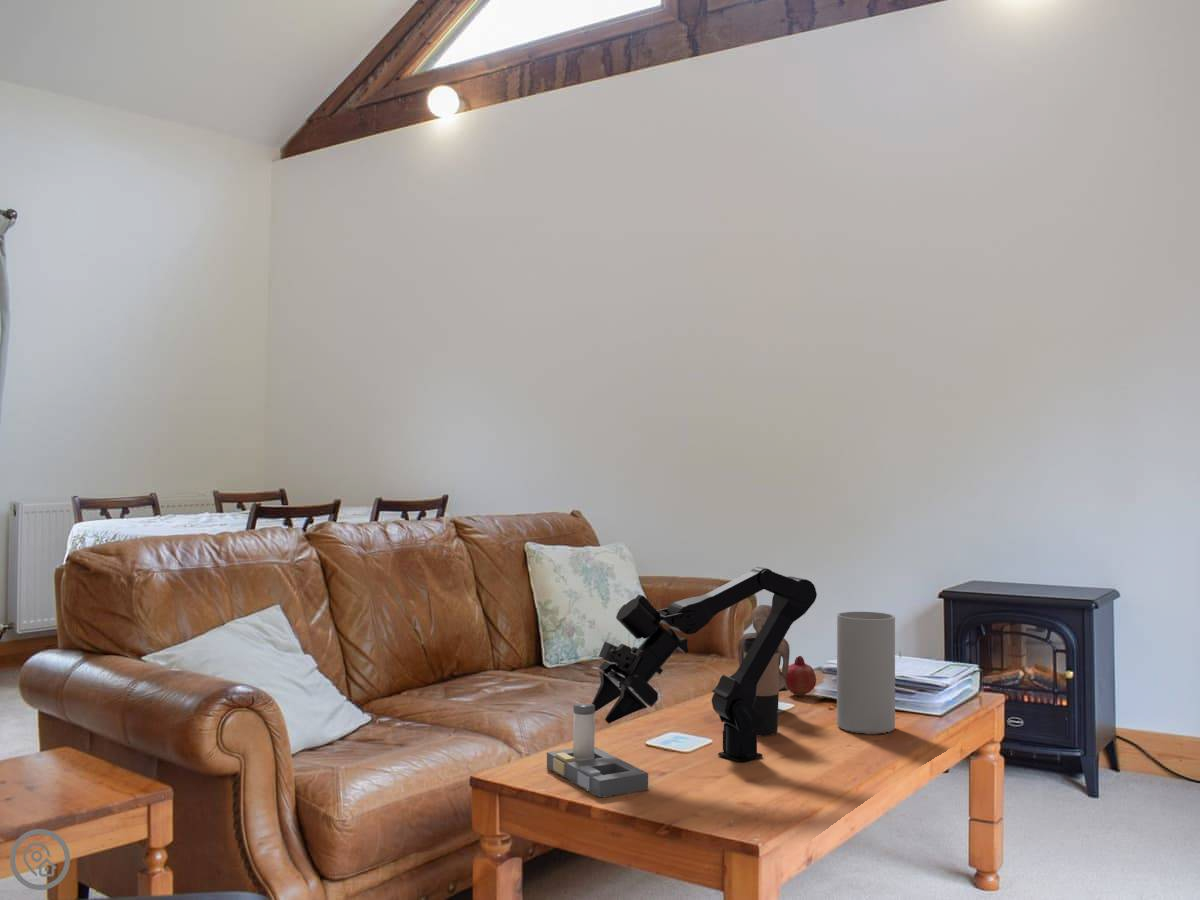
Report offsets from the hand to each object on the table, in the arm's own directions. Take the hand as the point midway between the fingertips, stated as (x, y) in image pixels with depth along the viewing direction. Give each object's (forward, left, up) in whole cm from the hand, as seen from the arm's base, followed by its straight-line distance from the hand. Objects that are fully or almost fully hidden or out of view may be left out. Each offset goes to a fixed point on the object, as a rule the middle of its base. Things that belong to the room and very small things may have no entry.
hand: (598, 716), depth 204 cm
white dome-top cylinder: (+1, +3, -10) cm, 11 cm away
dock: (-4, +4, -10) cm, 12 cm away
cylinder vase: (-11, -67, -10) cm, 69 cm away
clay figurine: (+15, -62, -10) cm, 65 cm away
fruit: (+20, -81, -10) cm, 84 cm away
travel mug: (+1, -46, -10) cm, 47 cm away
